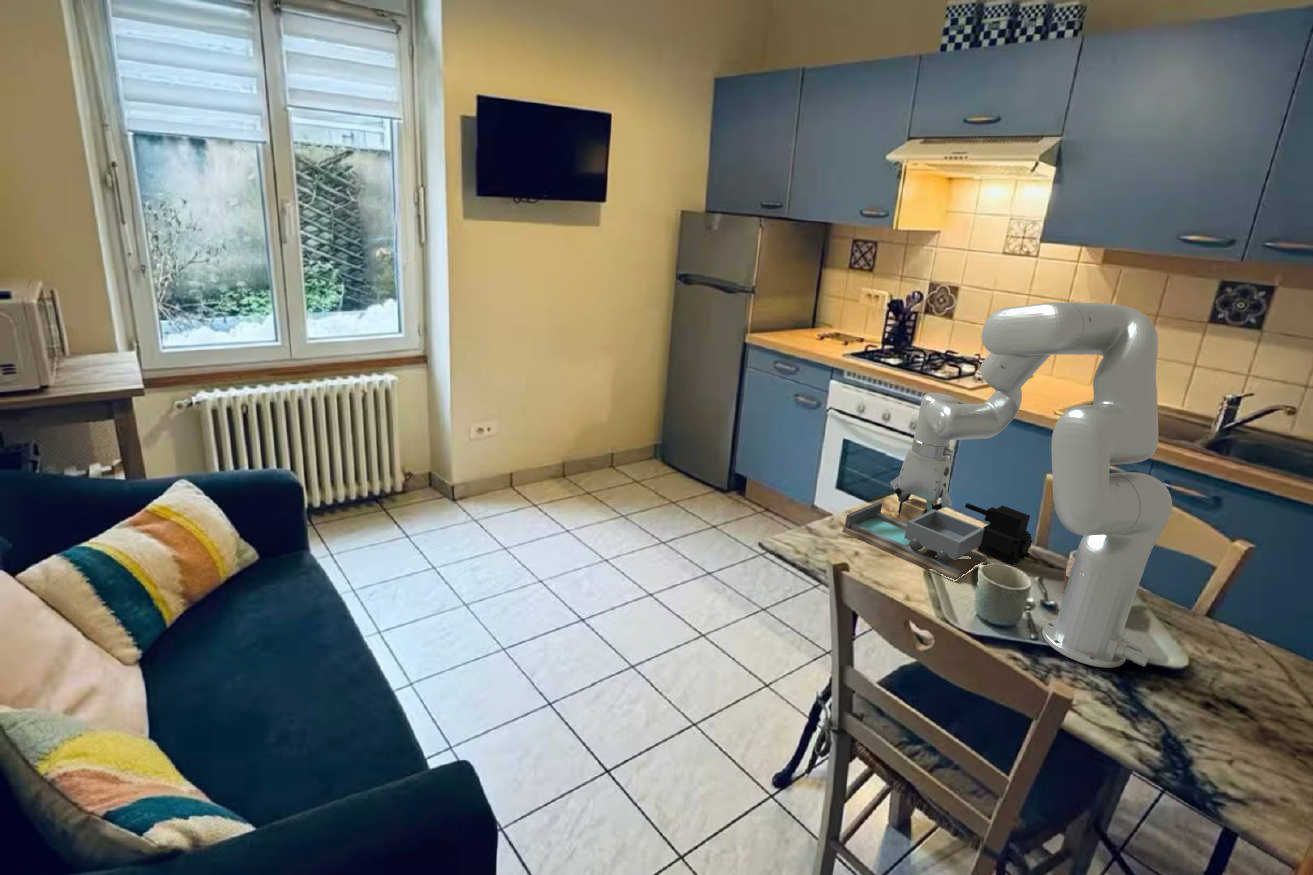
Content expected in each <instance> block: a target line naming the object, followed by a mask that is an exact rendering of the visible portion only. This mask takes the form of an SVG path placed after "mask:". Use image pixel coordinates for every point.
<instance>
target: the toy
mask: <svg viewBox="0 0 1313 875" xmlns="http://www.w3.org/2000/svg"><path fill="white" fill-rule="evenodd" d="M964 507H965V509H968V510H971V511H974V512H976V513H977V514H978V513H979V514H981V515H982V516H983V515H984V521H986V522H988V523H989V524H987V525H986V526H983V527H982V528H984V533H983V537H982V541H981V545H980V546H978V547H977V553H978V552H979V554H982V555H984V556H985V555H986V556H988V557H990V558H992V559H995V560H998V561H1000V562H1002V563H1004V564H1007V565H1009V564H1010V565H1009V566H1011V565H1013V566H1014V565H1019V564H1020V561H1021V560H1022V561H1023V560H1024V559H1025V558H1026V559H1028V558H1029V557H1030V555H1031V553H1030V552H1029V549H1030V548H1031V547H1032V544H1033V540H1032V538H1033V537H1032V536H1031V535H1032V534H1031V533H1029V531H1028V530H1027V528H1028V525H1029V521H1030V517H1031V515H1029V514H1027V513H1024V512H1021V511H1018V510H1015V509H1013V508H1010V507H1008V506H1004V505H1001V506H999V507H997V508H995V507H993V506H992V507H990V508H988V509H985V508H982V507H979V506H976V505H974V504H971V503H969V502H968V503H965V506H964Z"/></svg>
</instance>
